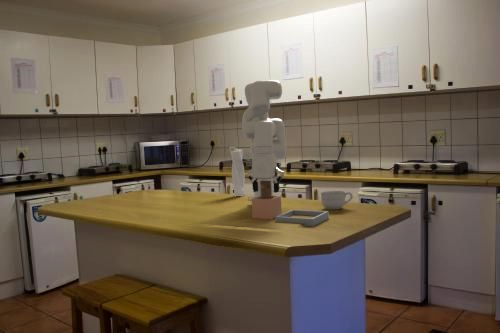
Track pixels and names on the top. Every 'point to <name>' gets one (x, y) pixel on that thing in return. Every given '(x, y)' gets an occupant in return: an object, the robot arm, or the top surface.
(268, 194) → the dowel pin
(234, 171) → the skyscraper
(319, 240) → the top surface
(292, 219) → the tray
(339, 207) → the teacup
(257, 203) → the pink cube box
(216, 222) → the top surface
